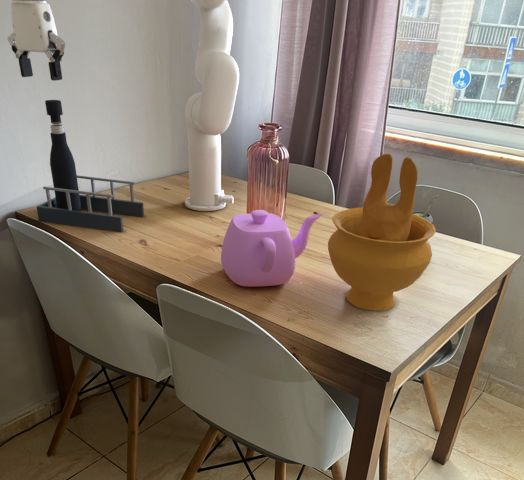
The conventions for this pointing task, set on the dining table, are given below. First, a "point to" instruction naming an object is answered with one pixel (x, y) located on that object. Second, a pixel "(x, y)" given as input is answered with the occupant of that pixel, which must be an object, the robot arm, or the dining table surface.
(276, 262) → the teapot
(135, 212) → the dish rack
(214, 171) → the robot arm
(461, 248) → the dining table surface
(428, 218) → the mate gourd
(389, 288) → the decorative bowl
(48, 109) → the dark blue bottle
